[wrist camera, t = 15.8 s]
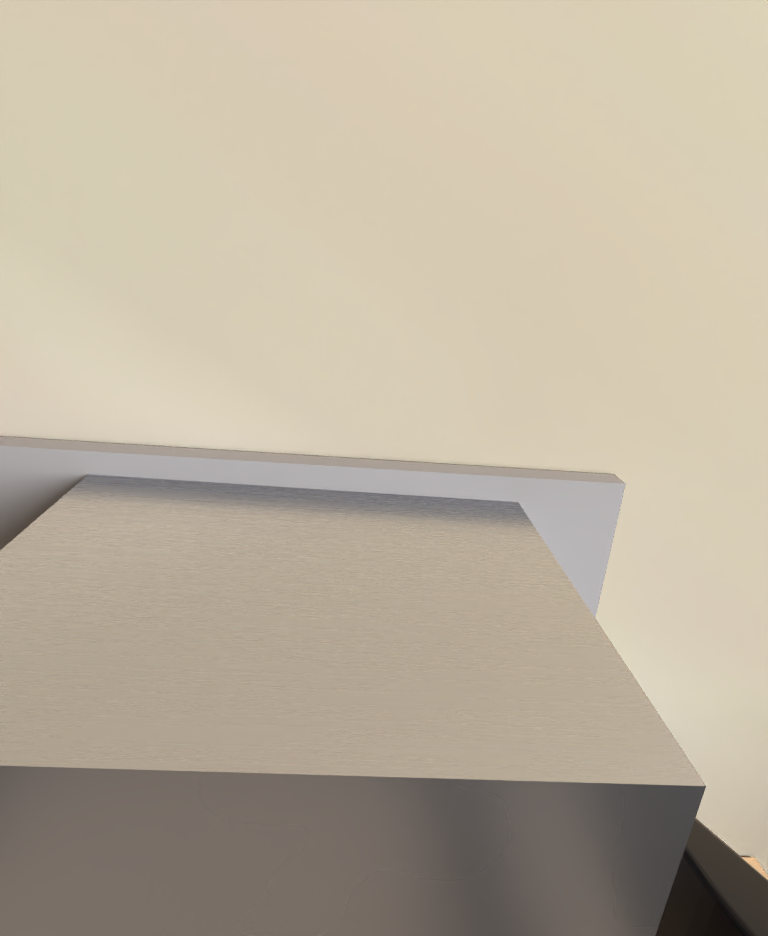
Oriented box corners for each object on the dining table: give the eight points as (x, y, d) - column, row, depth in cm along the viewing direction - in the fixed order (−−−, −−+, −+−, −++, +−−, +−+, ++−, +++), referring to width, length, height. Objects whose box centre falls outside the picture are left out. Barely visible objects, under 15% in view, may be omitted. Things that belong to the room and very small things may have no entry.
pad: (533, 844, 12) (539, 864, 11) (42, 836, 11) (31, 857, 11) (614, 474, 9) (625, 483, 9) (-12, 434, 9) (-29, 443, 8)
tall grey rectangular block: (518, 502, 9) (705, 785, 4) (456, 858, 11) (532, 1298, 7) (88, 473, 8) (-242, 757, 4) (115, 852, 11) (-68, 1320, 6)
